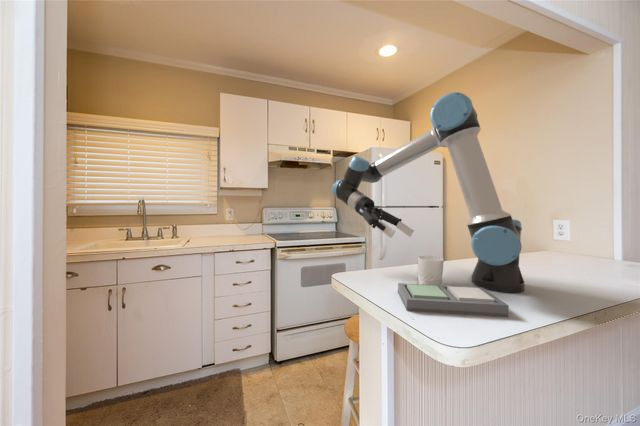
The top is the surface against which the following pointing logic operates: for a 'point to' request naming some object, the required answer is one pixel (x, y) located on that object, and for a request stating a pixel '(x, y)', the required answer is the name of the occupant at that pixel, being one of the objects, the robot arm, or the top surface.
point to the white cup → (430, 270)
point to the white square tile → (469, 294)
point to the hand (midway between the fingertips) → (402, 234)
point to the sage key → (426, 292)
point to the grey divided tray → (452, 303)
